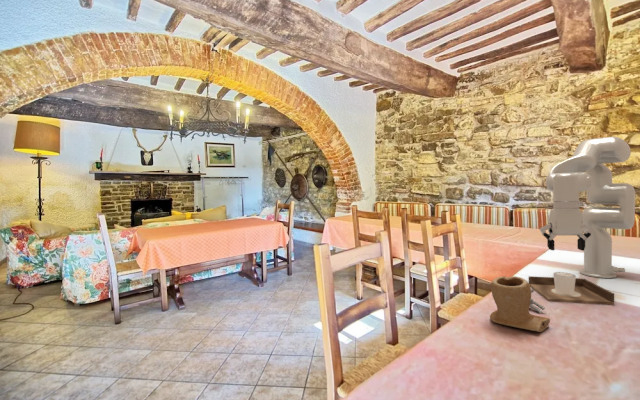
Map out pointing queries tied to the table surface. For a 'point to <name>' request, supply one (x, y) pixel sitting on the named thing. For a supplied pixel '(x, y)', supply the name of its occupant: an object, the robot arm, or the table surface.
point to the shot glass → (564, 283)
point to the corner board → (582, 291)
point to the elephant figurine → (536, 305)
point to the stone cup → (515, 304)
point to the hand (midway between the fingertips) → (566, 249)
